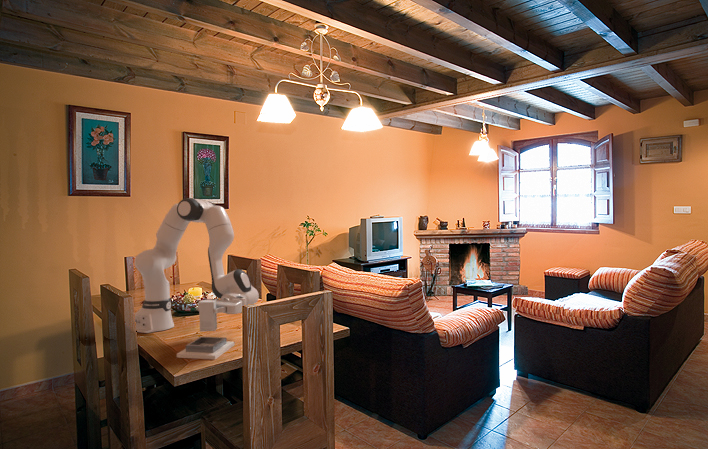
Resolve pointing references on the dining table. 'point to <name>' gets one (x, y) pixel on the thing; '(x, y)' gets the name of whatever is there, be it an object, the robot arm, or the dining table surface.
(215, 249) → the robot arm
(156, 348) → the dining table surface
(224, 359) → the dining table surface
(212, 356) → the collar board
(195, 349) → the collar
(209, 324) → the skincare box
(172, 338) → the dining table surface
